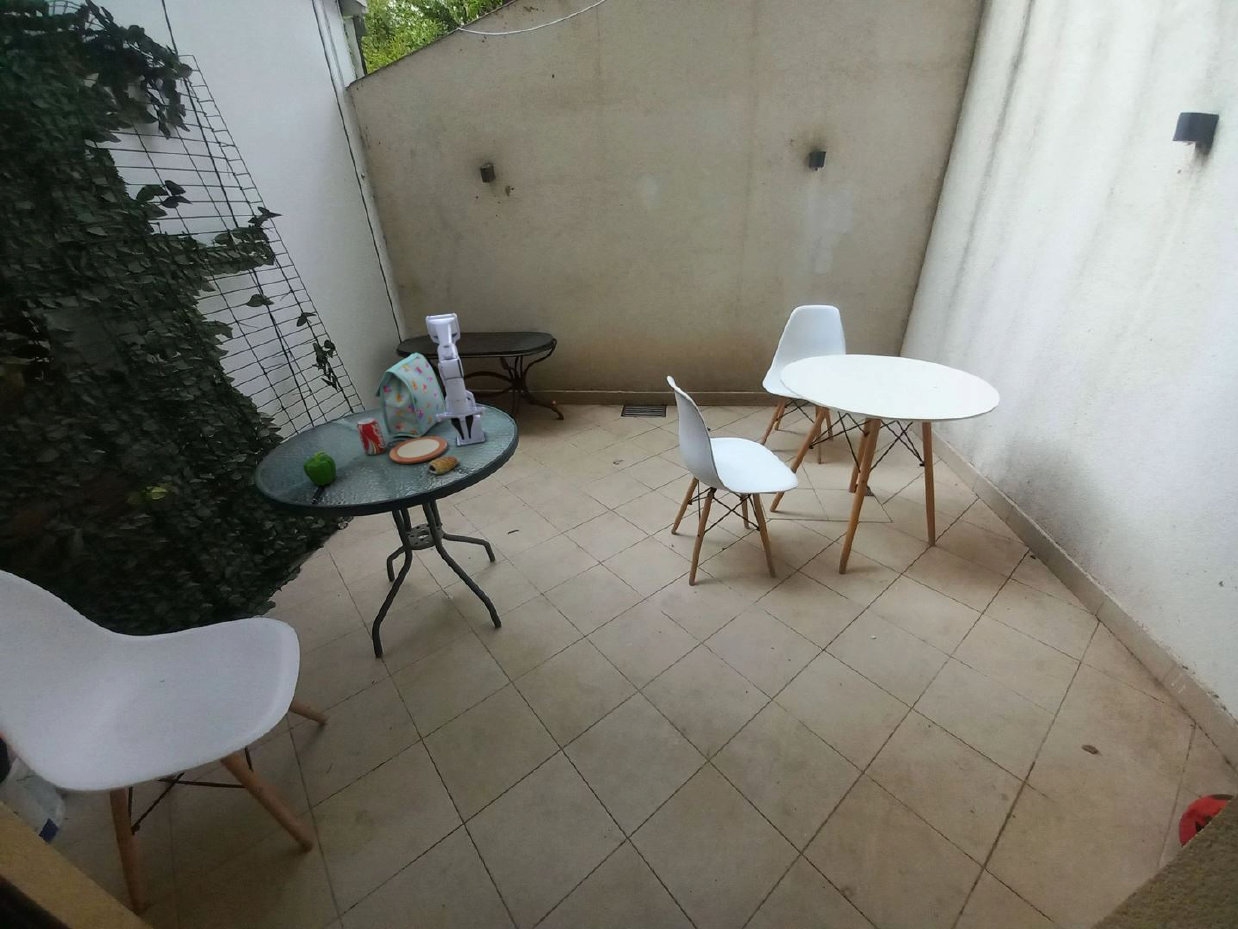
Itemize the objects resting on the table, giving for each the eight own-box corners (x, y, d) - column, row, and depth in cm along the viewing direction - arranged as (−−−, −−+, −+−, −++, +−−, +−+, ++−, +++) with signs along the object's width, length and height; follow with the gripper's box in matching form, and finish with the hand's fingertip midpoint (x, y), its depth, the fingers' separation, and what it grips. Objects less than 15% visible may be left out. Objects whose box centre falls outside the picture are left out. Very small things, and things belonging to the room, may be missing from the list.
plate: (447, 436, 177) (446, 432, 177) (447, 458, 161) (446, 454, 161) (393, 445, 173) (392, 441, 172) (387, 469, 157) (386, 465, 156)
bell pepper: (309, 490, 147) (296, 462, 142) (312, 478, 154) (300, 451, 149) (339, 484, 150) (328, 456, 145) (341, 472, 157) (330, 445, 152)
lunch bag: (415, 414, 198) (397, 350, 185) (452, 415, 196) (437, 350, 183) (384, 439, 178) (361, 369, 165) (425, 439, 176) (405, 369, 163)
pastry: (450, 459, 161) (447, 449, 159) (463, 464, 157) (460, 454, 155) (426, 472, 154) (423, 461, 152) (439, 477, 151) (436, 466, 149)
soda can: (379, 456, 166) (368, 424, 160) (361, 455, 167) (350, 424, 161) (390, 447, 172) (381, 416, 166) (373, 446, 173) (362, 416, 167)
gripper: (432, 406, 141) (443, 447, 148) (482, 398, 145) (490, 438, 151) (433, 398, 147) (443, 438, 154) (481, 391, 151) (489, 430, 157)
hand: (466, 438), depth 153 cm, fingers closed
